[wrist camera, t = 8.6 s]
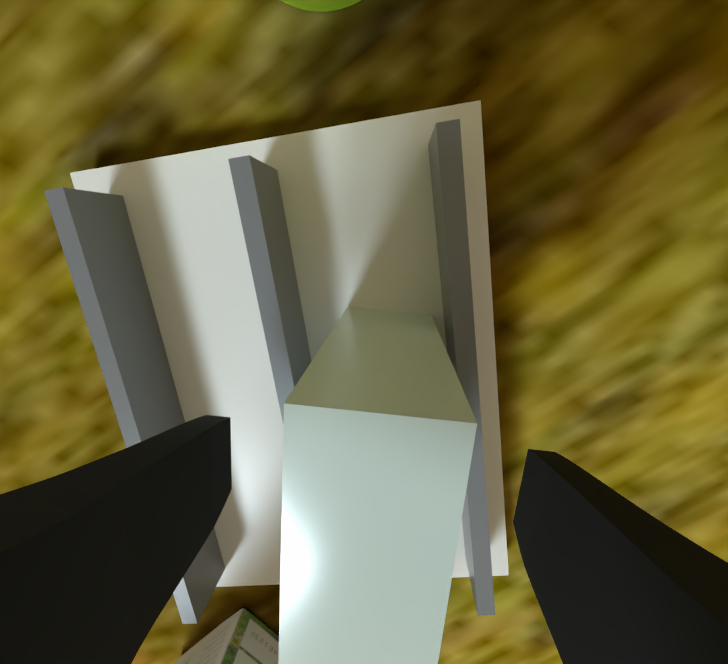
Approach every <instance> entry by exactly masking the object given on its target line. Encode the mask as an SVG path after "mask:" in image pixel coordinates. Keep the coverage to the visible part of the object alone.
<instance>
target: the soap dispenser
mask: <svg viewBox="0 0 728 664" xmlns="http://www.w3.org/2000/svg"><path fill="white" fill-rule="evenodd" d="M281 1H282V2H284V3H286V4H288V5H291V6H293V7H296V8H299V9H302V10H307V11H314V12H328V11H335V10H339V9H343V8H346V7H349V6H351V5H354V4H356V3H358V2H360V1H361V0H281Z"/></svg>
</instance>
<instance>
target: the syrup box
mask: <svg viewBox="0 0 728 664" xmlns="http://www.w3.org/2000/svg"><path fill="white" fill-rule="evenodd" d="M278 661H279V636H278V635H277V634H275V633H274V632H273V631H272V630H270V629H269V628H268V627H267V626H266V625H264V624H263V623H262V622H261V621H260V620H258V619H257V618H256V617H255V616H254V615H252V614H251V613H250V612H249V611H247V610H246V609H245V608H242V609H240V610H239V611H237V612H236V613H235V614H233V615H232V616H231V617H229V618H228V619H226V620H225V621H224V622H223V623H221V624H220V625H219V626H218V627H216V628H215V629H214V630H213V631H211V632H210V633H209V634H208V635H206V636H205V637H204V638H203V639H201V640H200V641H199V642H198V643H196V644H195V645H194V646H193V647H191V648H190V649H189V650H188V651H187V652H185V653H184V654H183V655H182V656H180V658H179V659H178V660H177V662H176V663H175V664H278Z"/></svg>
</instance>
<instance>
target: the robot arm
mask: <svg viewBox="0 0 728 664" xmlns="http://www.w3.org/2000/svg"><path fill="white" fill-rule="evenodd" d="M231 490H232V474H231V421H230V417H222V416H213V415H205V416H201V417H198V418H195V419H193V420H190V421H188V422H185V423H183V424H181V425H178V426H176V427H174V428H171V429H169V430H167V431H164V432H162V433H160V434H158V435H155V436H153V437H151V438H148V439H146V440H144V441H142V442H139V443H137V444H135V445H132V446H130V447H128V448H126V449H123V450H121V451H118V452H116V453H113V454H111V455H108V456H106V457H103V458H101V459H98V460H96V461H93V462H91V463H88V464H86V465H83V466H81V467H78V468H76V469H73V470H71V471H68V472H65V473H63V474H60V475H57V476H54V477H52V478H49V479H46V480H43V481H40V482H37V483H34V484H31V485H28V486H25V487H22V488H19V489H16V490H13V491H10V492H7V493H4V494H1V495H0V664H131V663H132V661H133V659H134V657H135V655H136V653H137V651H138V650H139V648H140V646H141V644H142V643H143V641H144V639H145V638H146V636H147V634H148V632H149V631H150V629H151V627H152V626H153V624H154V622H155V621H156V619H157V618H158V616H159V614H160V613H161V611H162V610H163V608H164V606H165V605H166V603H167V602H168V600H169V599H170V597H171V595H172V594H173V592H174V591H175V589H176V587H177V586H178V584H179V583H180V581H181V580H182V578H183V576H184V575H185V573H186V572H187V570H188V569H189V567H190V565H191V564H192V562H193V561H194V559H195V557H196V556H197V554H198V553H199V551H200V549H201V548H202V546H203V545H204V543H205V541H206V540H207V538H208V536H209V535H210V533H211V531H212V530H213V528H214V526H215V524H216V522H217V520H218V518H219V516H220V514H221V512H222V510H223V508H224V505H225V503H226V501H227V499H228V496H229V494H230V492H231ZM513 524H514V528H515V532H516V536H517V540H518V544H519V548H520V552H521V555H522V559H523V562H524V566H525V569H526V571H527V574H528V577H529V579H530V582H531V584H532V587H533V589H534V592H535V594H536V597H537V600H538V602H539V605H540V607H541V610H542V612H543V615H544V617H545V620H546V622H547V625H548V627H549V630H550V632H551V635H552V637H553V640H554V642H555V645H556V647H557V650H558V652H559V654H560V657H561V659H562V662H563V664H728V563H727V562H725V561H724V560H722V559H720V558H719V557H717V556H715V555H714V554H712V553H710V552H709V551H707V550H705V549H704V548H702V547H700V546H699V545H697V544H696V543H694V542H692V541H691V540H689V539H688V538H686V537H684V536H683V535H681V534H680V533H678V532H676V531H675V530H673V529H672V528H670V527H668V526H667V525H665V524H664V523H662V522H661V521H659V520H658V519H656V518H654V517H653V516H651V515H650V514H648V513H647V512H645V511H644V510H642V509H641V508H639V507H638V506H636V505H635V504H633V503H632V502H630V501H629V500H627V499H626V498H624V497H623V496H621V495H620V494H619V493H617V492H616V491H614V490H613V489H611V488H610V487H608V486H607V485H605V484H604V483H602V482H601V481H600V480H598V479H597V478H595V477H594V476H592V475H591V474H589V473H588V472H586V471H585V470H583V469H582V468H580V467H579V466H577V465H576V464H574V463H573V462H571V461H570V460H568V459H566V458H565V457H563V456H561V455H559V454H558V453H556V452H550V451H541V450H531V449H528V453H527V458H526V462H525V467H524V472H523V477H522V482H521V486H520V491H519V496H518V501H517V506H516V511H515V515H514V520H513Z"/></svg>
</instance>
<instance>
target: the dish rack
mask: <svg viewBox="0 0 728 664" xmlns="http://www.w3.org/2000/svg"><path fill="white" fill-rule="evenodd" d="M70 175H71V178H72V181H73V185H74V188H75V189H70V188H57V189H51V190H46V191H44V192H45V195H46V198H47V201H48V204H49V208H50V211H51V214H52V217H53V220H54V223H55V226H56V229H57V232H58V236H59V239H60V242H61V245H62V248H63V251H64V254H65V257H66V261H67V264H68V267H69V270H70V273H71V276H72V279H73V282H74V286H75V289H76V292H77V295H78V298H79V301H80V304H81V307H82V311H83V314H84V317H85V320H86V323H87V326H88V329H89V332H90V335H91V339H92V342H93V345H94V348H95V351H96V354H97V357H98V360H99V364H100V367H101V370H102V373H103V376H104V379H105V382H106V385H107V389H108V392H109V395H110V398H111V401H112V404H113V407H114V410H115V414H116V417H117V420H118V423H119V426H120V429H121V432H122V435H123V438H124V442H125V445H126V448H128V447H130V446H132V445H135V444H137V443H139V442H142V441H144V440H146V439H148V438H151V437H153V436H155V435H158V434H160V433H162V432H164V431H167V430H169V429H171V428H174V427H176V426H178V425H181V424H183V423H185V422H188V421H190V420H193V419H195V418H198V417H201V416H205V415H213V416H222V417H230V421H231V474H232V490H231V492H230V494H229V496H228V499H227V501H226V503H225V505H224V508H223V510H222V512H221V514H220V516H219V518H218V520H217V522H216V524H215V526H214V528H213V530H212V531H211V533H210V535H209V536H208V538H207V540H206V541H205V543H204V545H203V546H202V548H201V549H200V551H199V553H198V554H197V556H196V557H195V559H194V561H193V562H192V564H191V565H190V567H189V569H188V570H187V572H186V573H185V575H184V576H183V578H182V580H181V581H180V583H179V584H178V586H177V587H176V589H175V591H174V592H173V595H174V598H175V601H176V604H177V607H178V610H179V613H180V616H181V620H182V623H183V624H192V623H198V621H199V619H200V617H201V615H202V613H203V611H204V609H205V607H206V605H207V603H208V602H209V600H210V598H211V596H212V594H213V592H214V590H215V588H216V587H228V586H253V585H278V584H280V566H281V519H282V471H283V424H284V403H285V401H286V399H287V398H288V396H289V395H290V393H291V392H292V390H293V389H294V387H295V386H296V384H297V383H298V381H299V380H300V378H301V377H302V375H303V374H304V372H305V371H306V369H307V368H308V366H309V365H310V363H311V362H312V360H313V358H314V357H315V355H316V354H317V352H318V351H319V349H320V348H321V346H322V345H323V343H324V342H325V340H326V339H327V337H328V336H329V334H330V333H331V331H332V330H333V328H334V327H335V325H336V324H337V322H338V320H339V319H340V317H341V316H342V314H343V313H344V311H345V310H346V308H347V307H349V308H360V309H372V310H383V311H394V312H406V313H417V314H428V315H432V318H433V320H434V322H435V325H436V327H437V330H438V332H439V334H440V337H441V339H442V341H443V344H444V346H445V348H446V351H447V353H448V356H449V358H450V360H451V363H452V365H453V367H454V370H455V372H456V374H457V377H458V379H459V382H460V384H461V386H462V389H463V391H464V393H465V396H466V398H467V400H468V403H469V405H470V408H471V410H472V412H473V415H474V417H475V419H476V422H477V428H476V434H475V440H474V447H473V453H472V459H471V465H470V471H469V477H468V483H467V489H466V495H465V501H464V507H463V513H462V519H461V525H460V531H459V537H458V544H457V550H456V556H455V562H454V568H453V574H452V578H453V577H470V581H471V586H472V591H473V595H474V600H475V605H476V610H477V614H478V615H495V607H494V593H493V579H492V576H503V575H508V558H507V541H506V524H505V507H504V490H503V473H502V456H501V438H500V421H499V404H498V387H497V370H496V353H495V336H494V319H493V302H492V285H491V268H490V251H489V234H488V217H487V199H486V182H485V165H484V148H483V131H482V114H481V100H479V101H473V102H467V103H462V104H456V105H451V106H445V107H439V108H434V109H428V110H422V111H417V112H411V113H405V114H400V115H394V116H389V117H383V118H377V119H372V120H366V121H360V122H355V123H349V124H343V125H338V126H332V127H327V128H321V129H315V130H310V131H304V132H298V133H293V134H287V135H282V136H276V137H270V138H265V139H259V140H253V141H248V142H242V143H236V144H231V145H225V146H220V147H214V148H208V149H203V150H197V151H191V152H186V153H180V154H175V155H169V156H163V157H158V158H152V159H146V160H141V161H135V162H129V163H124V164H118V165H113V166H107V167H101V168H96V169H90V170H84V171H79V172H73V173H70Z"/></svg>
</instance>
